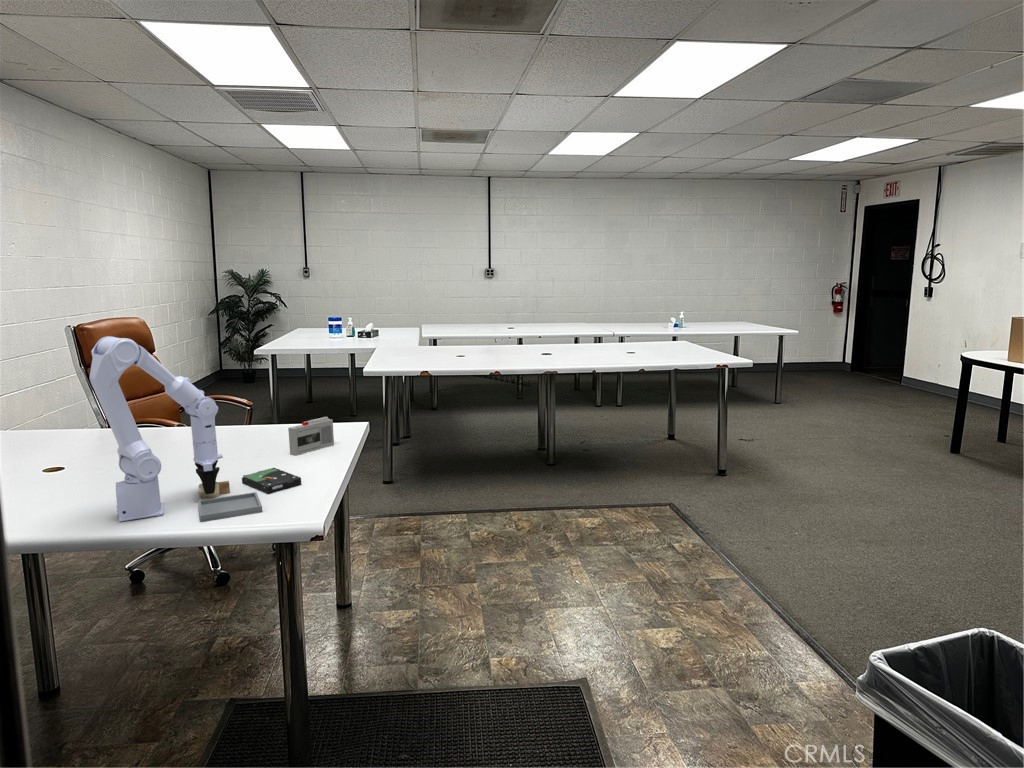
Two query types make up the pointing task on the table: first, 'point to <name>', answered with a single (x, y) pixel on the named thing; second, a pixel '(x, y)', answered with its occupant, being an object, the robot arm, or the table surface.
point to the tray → (229, 506)
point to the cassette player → (311, 436)
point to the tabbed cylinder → (219, 489)
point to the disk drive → (271, 480)
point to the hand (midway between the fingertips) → (209, 490)
